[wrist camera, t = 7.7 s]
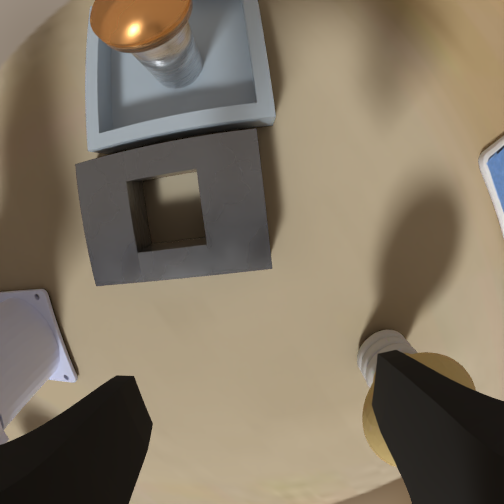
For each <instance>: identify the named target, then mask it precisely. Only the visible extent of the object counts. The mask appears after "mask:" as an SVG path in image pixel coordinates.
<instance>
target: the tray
mask: <svg viewBox="0 0 504 504" xmlns="http://www.w3.org/2000/svg"><path fill="white" fill-rule="evenodd" d="M192 1H193V8H192V13H191V16H190V18H189V20H188V22H189V24H190V27H191V30H192V33H193V36H194V39H195V42H196V44H197V47H198V50H199V53H200V56H201V59H202V71H201V73H200V75H199V77H198V78H197V79H196V80H195V81H194V82H193V83H192V84H190V85H188V86H186V87H184V88H179V89H171V88H167V87H165V86H163V85H162V84H160V83H159V82H158V81H157V79H156V78H155V77H154V76H153V75H152V74H151V73H150V72H149V71H148V70H147V69H146V68H145V67H144V66H143V65H142V64H141V63H140V62H139V61H138V60H137V59H136V58H135V57H134V56H133V55H132V54H131V53H123V52H119V51H116V50H114V49H112V48H111V47H109V46H108V45H107V44H106V43H104V42H103V41H102V40H101V39H100V38H99V37H98V36H97V35H96V34H95V33H94V32H93V30H92V28H91V24H90V13H91V9H92V6H91V7H90V13H89V22H88V34H87V48H86V76H85V100H86V129H87V145H88V151H90V152H97V153H104V154H110V153H114V152H118V151H122V150H126V149H130V148H135V147H139V146H144V145H148V144H153V143H158V142H163V141H168V140H173V139H178V138H184V137H190V136H195V135H202V134H208V133H215V132H221V131H229V130H236V129H245V128H253V127H263V126H273V123H274V120H275V117H276V114H275V106H274V99H273V92H272V85H271V78H270V72H269V65H268V58H267V52H266V46H265V40H264V33H263V27H262V22H261V16H260V10H259V4H258V0H192Z"/></svg>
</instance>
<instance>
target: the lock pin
mask: <svg viewBox="0 0 504 504" xmlns="http://www.w3.org/2000/svg"><path fill="white" fill-rule="evenodd" d="M192 8H193V1H192V0H95V2H94V4H93V6H92V9H91V13H90V24H91V28H92V30H93V32H94V33H95V34H96V35H97V36H98V37H99V38H100V39H101V40H102V41H103V42H104V43H106V44H107V45H108V46H109V47H111V48H112V49H114V50H116V51H119V52H123V53H131V54H132V55H133V56H134V57H135V58H136V59H137V60H138V61H139V62H140V63H141V64H142V65H143V66H144V67H145V68H146V69H147V70H148V71H149V72H150V73H151V74H152V75H153V76H154V77H155V78H156V79H157V81H158V82H159V83H160V84H162V85H163V86H165V87H167V88H171V89H179V88H184V87H186V86H188V85H190V84H192V83H193V82H194V81H195V80H196V79H197V78H198V77H199V75H200V73H201V71H202V59H201V56H200V53H199V50H198V47H197V44H196V42H195V39H194V36H193V33H192V30H191V27H190V24H189V22H188V20H189V18H190V16H191V13H192Z"/></svg>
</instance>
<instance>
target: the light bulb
mask: <svg viewBox="0 0 504 504" xmlns="http://www.w3.org/2000/svg"><path fill="white" fill-rule="evenodd" d="M392 350H398V351H400V352H402V353H404V354H406V355H408V356H410V357H411V358H413V359H415V360H417V361H419V362H420V363H422V364H424V365H426V366H427V367H429V368H431V369H433V370H435V371H436V372H438V373H440V374H442V375H444V376H446V377H448V378H450V379H451V380H453V381H455V382H457V383H460V384H462V385H464V386H466V387H468V388H470V389H473V390H475V386H474V383H473V381H472V379H471V377H470V375H469V374H468V372H467V371H466V370H465V369H464V367H463V366H462V365H460V364H459V363H458V362H456V361H455V360H453V359H452V358H450V357H447V356H444V355H441V354H437V353H428V352H425V353H417V351H416V350H415V349H414V348H413V347H412V346H411V345H410V343H409V342H408V341H407V340H406V339H405V338H404V336H403V335H402V334H400V333H399V332H397V331H395V330H382V331H378V332H376V333H374V334H373V335H371V336H370V337H369V338H368V339H366V340H365V341H364V343H363V344H362V345H361V347H360V349H359V351H358V355H357V364H358V367H359V369H360V371H361V372H362V375H363V377H364V378H365V380H366V382H367V385H368V386H369V388H370V389H369V392H368V394H367V396H366V399H365V403H364V407H363V429H364V433H365V437H366V439H367V441H368V443H369V445H370V447H371V448H372V450H373V451H374V452H375V453H376V455H377V456H378V457H379V458H380V459H381V460H383V461H385V462H386V463H388V464H390V465H392V466H395V467H397V466H396V464H395V461H394V459H393V457H392V455H391V453H390V451H389V449H388V447H387V445H386V443H385V441H384V439H383V436H382V434H381V432H380V429H379V426H378V423H377V420H376V417H375V414H374V411H373V408H372V399H373V391H374V383H375V375H376V365H377V354H379V353H383V352H388V351H392ZM475 391H476V390H475Z"/></svg>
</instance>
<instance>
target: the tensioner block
mask: <svg viewBox="0 0 504 504" xmlns="http://www.w3.org/2000/svg"><path fill="white" fill-rule="evenodd" d="M75 166H76V176H77V185H78V193H79V200H80V207H81V214H82V220H83V226H84V232H85V237H86V243H87V248H88V253H89V257H90V262H91V267H92V271H93V275H94V280H95V284H96V286H104V285H115V284H126V283H137V282H148V281H158V280H169V279H179V278H189V277H199V276H209V275H218V274H228V273H237V272H246V271H256V270H265V269H272V261H271V251H270V242H269V233H268V223H267V214H266V205H265V197H264V188H263V179H262V171H261V162H260V154H259V146H258V138H257V129H247V130H239V131H231V132H224V133H217V134H210V135H204V136H197V137H191V138H186V139H180V140H175V141H169V142H164V143H159V144H154V145H150V146H145V147H140V148H136V149H132V150H127V151H123V152H119V153H115V154H111V155H107V156H103V157H100V158H96V159H92V160H89V161H85V162H82V163H78V164H75ZM191 172H197V175H198V183H199V191H200V198H201V206H202V213H203V221H204V228H205V235H206V237H202V238H194V239H186V240H178V241H170V242H163V243H155V244H152V243H151V237H150V231H149V225H148V219H147V212H146V206H145V199H144V191H143V184H142V181H145V180H150V179H156V178H161V177H167V176H173V175H179V174H185V173H191Z"/></svg>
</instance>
